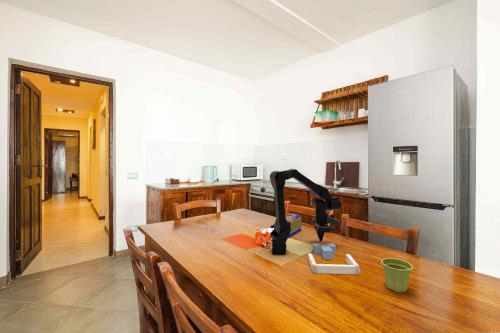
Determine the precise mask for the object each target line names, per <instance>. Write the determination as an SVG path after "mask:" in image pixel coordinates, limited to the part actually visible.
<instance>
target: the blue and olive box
mask: <svg viewBox="0 0 500 333" xmlns="http://www.w3.org/2000/svg"><path fill="white" fill-rule="evenodd" d="M285 215H286V220H287V221H289V222H290V223H291V230H292V231H290V235H289V236H288V238H290V237H291V236H293V235H295V234H296V233H298V232H299V230H300V231H301V230H302V228H303V227H302V225H303V224H302V215H301V214H295V213H287V214H285ZM274 225H275V223H274V224H271V225H270V229H271V228H274ZM294 233H295V234H294Z"/></svg>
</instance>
